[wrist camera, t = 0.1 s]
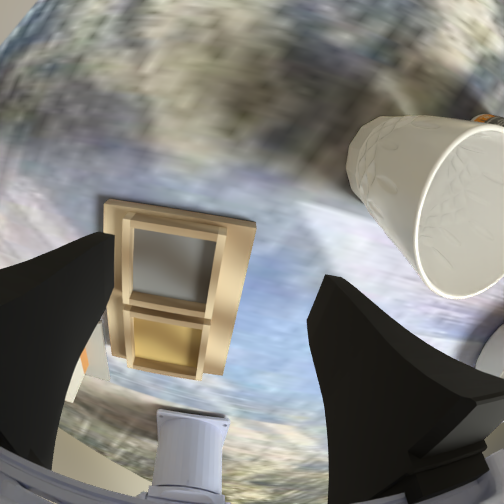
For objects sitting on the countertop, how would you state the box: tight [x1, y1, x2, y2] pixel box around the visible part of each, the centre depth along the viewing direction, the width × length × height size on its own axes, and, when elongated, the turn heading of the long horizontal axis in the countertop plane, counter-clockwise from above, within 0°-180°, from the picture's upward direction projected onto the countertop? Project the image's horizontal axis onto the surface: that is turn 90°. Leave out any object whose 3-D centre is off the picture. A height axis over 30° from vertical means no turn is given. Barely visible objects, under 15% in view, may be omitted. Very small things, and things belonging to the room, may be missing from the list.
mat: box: [85, 321, 111, 382], centre depth 25 cm, size 8×8×1 cm
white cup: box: [346, 115, 504, 299], centre depth 14 cm, size 8×8×10 cm
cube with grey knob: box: [65, 348, 89, 403], centre depth 22 cm, size 4×4×5 cm
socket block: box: [103, 199, 256, 381], centre depth 22 cm, size 14×10×2 cm
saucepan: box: [476, 324, 504, 379], centre depth 28 cm, size 12×20×6 cm, turn 3°
